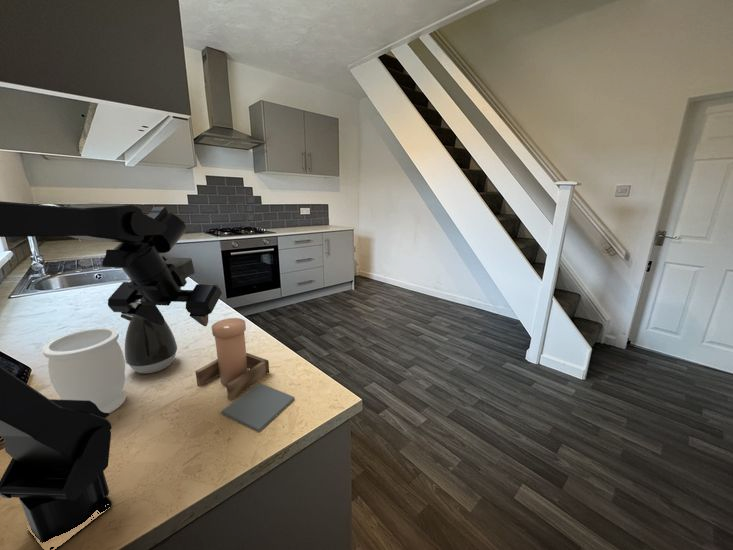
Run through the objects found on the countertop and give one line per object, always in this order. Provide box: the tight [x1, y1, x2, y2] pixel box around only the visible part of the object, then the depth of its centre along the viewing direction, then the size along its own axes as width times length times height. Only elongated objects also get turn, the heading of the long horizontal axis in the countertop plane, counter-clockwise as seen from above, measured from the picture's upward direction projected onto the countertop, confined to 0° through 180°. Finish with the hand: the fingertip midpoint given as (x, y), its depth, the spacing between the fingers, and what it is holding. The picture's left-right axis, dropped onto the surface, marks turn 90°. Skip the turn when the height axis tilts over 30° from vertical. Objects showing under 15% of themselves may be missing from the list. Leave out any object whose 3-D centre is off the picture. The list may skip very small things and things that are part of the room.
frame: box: [194, 352, 270, 401], centre depth 67 cm, size 11×11×4 cm
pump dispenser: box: [120, 313, 178, 374], centre depth 69 cm, size 10×10×15 cm
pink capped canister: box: [211, 317, 249, 388], centre depth 66 cm, size 7×7×14 cm
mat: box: [221, 382, 295, 433], centre depth 59 cm, size 10×10×1 cm
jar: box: [41, 327, 127, 414], centre depth 56 cm, size 11×10×15 cm
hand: (184, 323), depth 61 cm, fingers open, 9 cm apart
